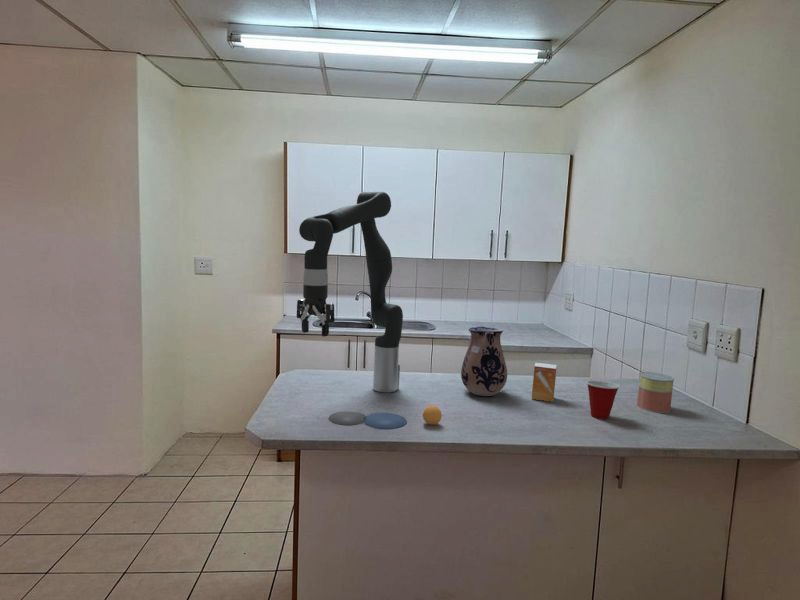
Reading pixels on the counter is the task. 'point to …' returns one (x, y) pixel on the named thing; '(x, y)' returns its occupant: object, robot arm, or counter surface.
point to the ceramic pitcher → (484, 362)
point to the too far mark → (347, 418)
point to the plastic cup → (601, 398)
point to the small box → (544, 382)
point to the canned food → (655, 392)
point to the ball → (432, 415)
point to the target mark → (385, 420)
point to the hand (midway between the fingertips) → (314, 334)
